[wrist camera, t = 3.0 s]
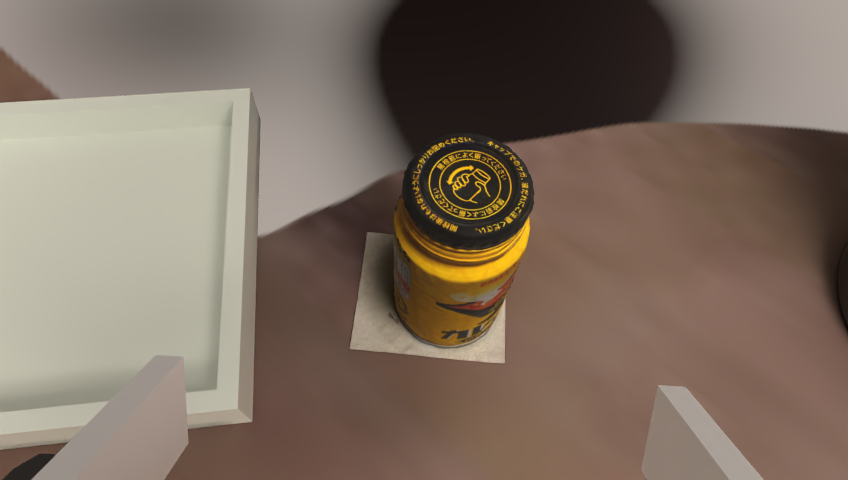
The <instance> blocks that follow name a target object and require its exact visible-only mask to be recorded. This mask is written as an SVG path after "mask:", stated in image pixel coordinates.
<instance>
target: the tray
mask: <svg viewBox="0 0 848 480" xmlns="http://www.w3.org/2000/svg"><path fill="white" fill-rule="evenodd" d="M259 150H260V117H259V114H258V111H257V108H256V105H255V102H254V98H253V96H252V92H251V89H250V88H242V89H225V90H208V91H192V92H176V93H158V94H142V95H125V96H108V97H93V98H92V97H91V98H74V99H57V100H41V101H24V102H7V103H0V450H4V449H13V448H22V447H31V446H40V445H49V444H58V443H67V442H69V441H70V440H71V439H72V438H73V437H74V436H75V435H76V434H77V433H78V432H79V431H80V430H81V429H82V428H83V427H84V426H85V425H86V424H87V423H88V422H89V421H90V420H91V419H92V418H93V417H94V416H95V415H96V414H97V413H98V412H99V411H100V410H101V409H102V408H103V407H104V406H105V405H106V404H107V403H108V402H109V401H110V400H111V399H112V398H113V397H114V396H115V395H116V394H117V393H118V392H119V391H120V390H121V389H122V388H123V387H124V386H125V385H126V384H127V383H128V382H129V381H130V380H131V379H132V378H133V377H134V376H135V375H136V374H137V373H138V372H139V371H140V370H141V369H142V368H143V367H144V366H145V365H146V364H147V363H148V362H149V361H150V360H151V359H152V358H153V357H154V356H155V355H166V356H182V357H184V372H185V390H186V407H187V425H188V429H192V428H201V427H210V426H219V425H228V424H237V423H246V422H252V419H253V381H254V343H255V305H256V268H257V228H258V192H259V154H260V151H259Z"/></svg>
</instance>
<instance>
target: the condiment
mask: <svg viewBox="0 0 848 480" xmlns="http://www.w3.org/2000/svg"><path fill="white" fill-rule="evenodd" d="M533 197H534V189H533V181H532V178H531V175H530V174H529V173H528V170H527V167H526V165H525V164H524V162H523V161H522V160H521V159H520V158H519V157H518V156H517V155H516V154H515V153H514V152H513V151H512V150H511V148H509V147H508V146H506V145H504V144H502V143H500V142H498V141H496V140H494V139H491V138H489V137H486V136H483V135H480V134H469V133H456V134H448V135H445V136H443V137H440V138H436V139H435V140H434V141H432V142H431V143H429V144H428V145H427V146H426V147H424V148H423V149H422V150H420V151H419V153H417V154H416V155H415V156H414V158H413V159H412V160H411V161H410V163H409V164H408V167H407V170H406V171H405V175H404V179H403V187H402V195H401V196H400V197H399V200H398V202H397V205H396V208H395V213H394V217H393V228H394V235H392V234H385V233H374V232H367V237H366V245H365V251H364V258H363V265H362V271H361V279H360V285H359V292H358V300H357V305H356V311H355V318H354V325H353V331H352V337H351V344H350V349H355V350H368V351H376V352H389V353H399V354H409V355H419V356H427V357H436V358H448V359H458V360H468V361H481V362H490V363H505V298H506V295H507V292H508V290H509V288H510V285H511V283H512V281H513V278H514V274H515V272H516V270H517V268H518V265H519V263H520V261H521V259H522V258H523V255H524V253H525V252H526V245H527V243H528V237H529V231H530V225H529V214H530V213H531V211H532V209H533V204H534V198H533ZM388 313H390V314H392V315H393V318H390V317H389V316H388ZM394 318H397V319H398V323H396V322H395V321H394Z"/></svg>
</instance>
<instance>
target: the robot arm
mask: <svg viewBox="0 0 848 480" xmlns="http://www.w3.org/2000/svg"><path fill="white" fill-rule="evenodd" d="M837 283H838V294H839V300H840V304H841V309H842V312H843V315H844V318H845V321H846V323H847V326H848V243H847V245H846V247H845V249H844V251H843V253H842V256H841V259H840V263H839V268H838V282H837ZM188 443H189V442H188V425H187V407H186V390H185V372H184V357H182V356H166V355H155V356H154V357H153V358H152V359H151V360H150V361H149V362H148V363H147V364H146V365H145V366H144V367H143V368H142V369H141V370H140V371H139V372H138V373H137V374H136V375H135V376H134V377H133V378H132V379H131V380H130V381H129V382H128V383H127V384H126V385H125V386H124V387H123V388H122V389H121V390H120V391H119V392H118V393H117V394H116V395H115V396H114V397H113V398H112V399H111V400H110V401H109V402H108V403H107V404H106V405H105V406H104V407H103V408H102V409H101V410H100V411H99V412H98V413H97V414H96V415H95V416H94V417H93V418H92V419H91V420H90V421H89V422H88V423H87V424H86V425H85V426H84V427H83V428H82V429H81V430H80V431H79V432H78V433H77V434H76V435H75V436H74V437H73V438H72V439H71V440H70V441H69V442H68V443H67V444H66V445H65V446H64V447H63V448H62V449H61V450H60V451H59V452H58V453H57V454H56V455H53V454H39V455H37V456H35V457H33V458H32V459H30V460H28V461H26V462H25V463H23V464H21V465H19V466H18V467H16V468H14V469H13V470H12V471H11V472H10V473H9V474H8V475H7V476H6V477H5V478H4V479H2V480H164V479H165V478H166V476H167V475H168V473H169V472H170V470H171V469H172V467H173V466H174V464H175V463H176V461H177V460H178V458H179V457H180V455H181V454H182V452H183V451H184V449H185V448H186V446H187V445H188ZM641 470H642V472H643V474H644V476H645V477H646V479H647V480H763V478H762V477H761V476H760V475H759V474H758V473H757V471H756V470H755V469H754V468H753V467H752V465H751V464H750V463H749V462H748V461H747V460H746V458H745V457H744V456H743V455H742V454H741V452H740V451H739V450H738V449H737V448H736V446H735V445H734V444H733V443H732V442H731V441H730V439H729V438H728V437H727V436H726V435H725V433H724V432H723V431H722V430H721V429H720V427H719V426H718V425H717V424H716V423H715V422H714V420H713V419H712V418H711V417H710V416H709V414H708V413H707V412H706V411H705V410H704V408H703V407H702V406H701V405H700V404H699V403H698V401H697V400H696V399H695V398H694V397H693V395H692V394H691V393H690V392H689V391H688V389H687V388H686V387H679V386H662V385H658V387H657V392H656V397H655V403H654V408H653V413H652V418H651V423H650V428H649V433H648V438H647V443H646V448H645V453H644V459H643V464H642V469H641Z"/></svg>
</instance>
